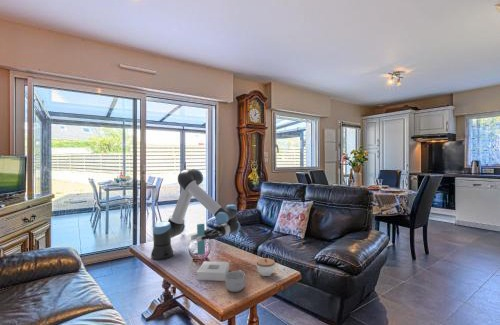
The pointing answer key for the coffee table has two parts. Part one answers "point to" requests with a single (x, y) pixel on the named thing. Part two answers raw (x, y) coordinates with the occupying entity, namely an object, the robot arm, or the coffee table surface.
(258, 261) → the lidded jar
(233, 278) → the teacup
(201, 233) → the peg
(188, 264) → the coffee table surface
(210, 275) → the socket block
